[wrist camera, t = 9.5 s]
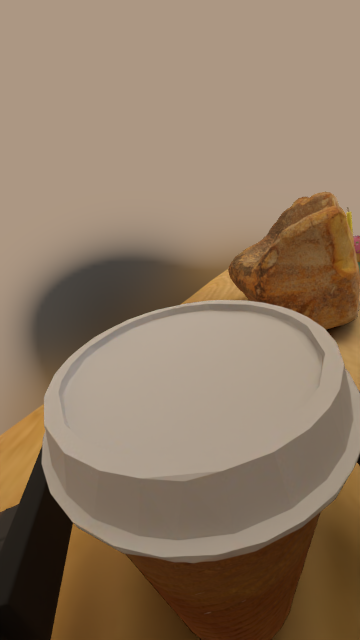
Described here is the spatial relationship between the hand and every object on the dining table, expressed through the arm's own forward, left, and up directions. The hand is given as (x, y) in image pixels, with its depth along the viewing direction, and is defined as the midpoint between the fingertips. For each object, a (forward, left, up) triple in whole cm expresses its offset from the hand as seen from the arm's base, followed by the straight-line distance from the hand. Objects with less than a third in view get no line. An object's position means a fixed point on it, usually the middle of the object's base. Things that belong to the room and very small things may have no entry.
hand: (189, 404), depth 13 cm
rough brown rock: (-23, -19, -7) cm, 31 cm away
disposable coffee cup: (+1, +3, -7) cm, 8 cm away
